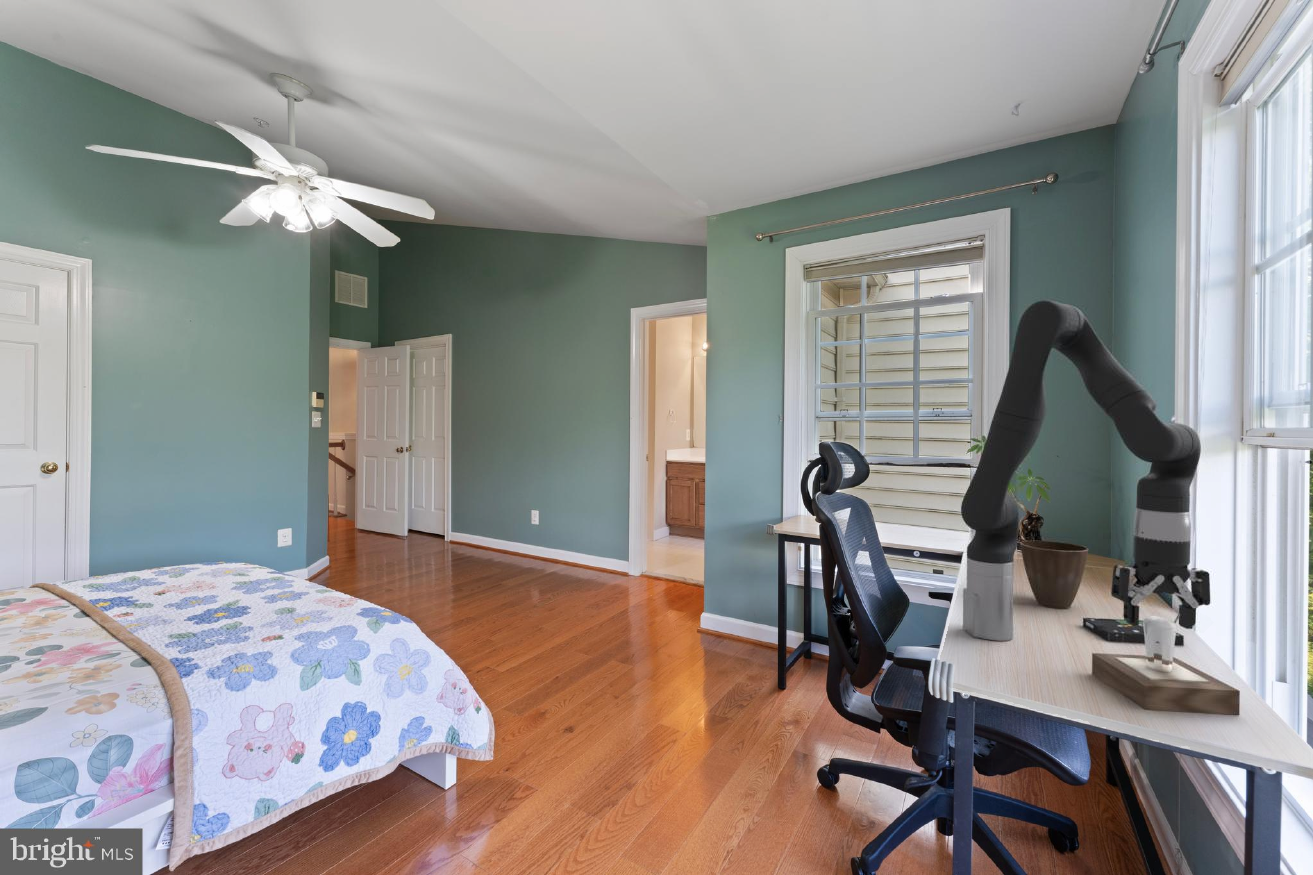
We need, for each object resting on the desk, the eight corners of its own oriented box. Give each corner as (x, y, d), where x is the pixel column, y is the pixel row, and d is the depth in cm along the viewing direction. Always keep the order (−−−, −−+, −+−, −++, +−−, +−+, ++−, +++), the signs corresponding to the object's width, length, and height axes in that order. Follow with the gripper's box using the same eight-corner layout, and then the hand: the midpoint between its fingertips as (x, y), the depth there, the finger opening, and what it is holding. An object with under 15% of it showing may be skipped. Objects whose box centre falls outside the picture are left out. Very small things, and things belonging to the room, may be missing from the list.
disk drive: (1109, 645, 124) (1185, 648, 122) (1109, 632, 124) (1185, 635, 122) (1081, 628, 135) (1151, 631, 132) (1081, 617, 135) (1151, 619, 132)
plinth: (1145, 709, 94) (1145, 683, 94) (1092, 673, 108) (1092, 651, 108) (1239, 714, 92) (1239, 688, 92) (1173, 677, 106) (1173, 655, 106)
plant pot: (1006, 599, 156) (1007, 541, 156) (1046, 594, 161) (1047, 538, 160) (1059, 615, 142) (1060, 552, 142) (1102, 610, 146) (1102, 549, 146)
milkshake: (1188, 675, 97) (1189, 618, 97) (1152, 672, 98) (1153, 616, 98) (1170, 664, 102) (1170, 609, 102) (1136, 662, 103) (1136, 607, 103)
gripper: (1131, 538, 97) (1129, 631, 97) (1225, 541, 95) (1222, 636, 95) (1103, 530, 104) (1101, 616, 105) (1189, 532, 102) (1186, 621, 103)
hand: (1158, 625), depth 100 cm, fingers open, 8 cm apart
